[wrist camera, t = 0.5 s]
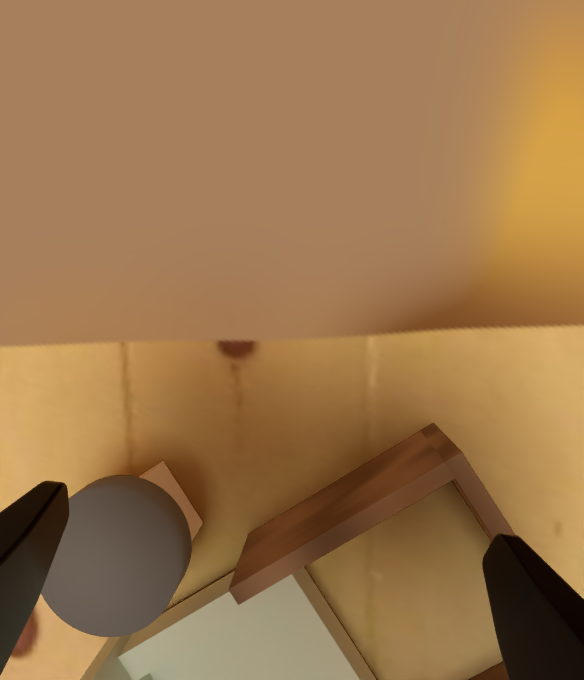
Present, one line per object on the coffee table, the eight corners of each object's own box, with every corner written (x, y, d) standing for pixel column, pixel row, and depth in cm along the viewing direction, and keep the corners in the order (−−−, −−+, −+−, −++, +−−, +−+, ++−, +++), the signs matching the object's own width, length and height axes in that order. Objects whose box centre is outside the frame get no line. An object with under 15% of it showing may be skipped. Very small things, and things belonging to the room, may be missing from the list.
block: (203, 522, 25) (182, 556, 21) (143, 558, 25) (113, 598, 22) (163, 460, 25) (135, 484, 21) (104, 498, 25) (68, 527, 22)
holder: (433, 422, 23) (461, 452, 18) (574, 641, 23) (640, 729, 18) (248, 534, 25) (228, 589, 20) (383, 742, 25) (396, 850, 20)
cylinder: (217, 565, 21) (206, 591, 19) (107, 631, 22) (85, 663, 20) (142, 449, 21) (123, 463, 19) (34, 518, 22) (5, 539, 20)
